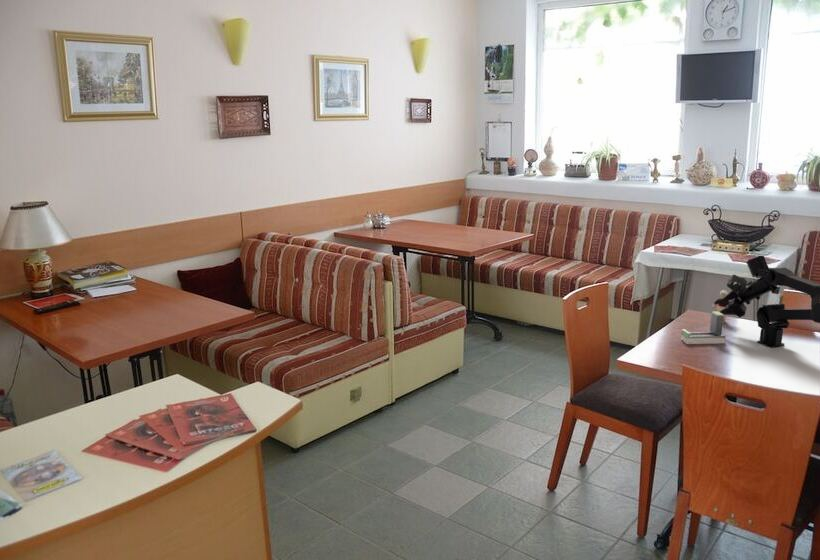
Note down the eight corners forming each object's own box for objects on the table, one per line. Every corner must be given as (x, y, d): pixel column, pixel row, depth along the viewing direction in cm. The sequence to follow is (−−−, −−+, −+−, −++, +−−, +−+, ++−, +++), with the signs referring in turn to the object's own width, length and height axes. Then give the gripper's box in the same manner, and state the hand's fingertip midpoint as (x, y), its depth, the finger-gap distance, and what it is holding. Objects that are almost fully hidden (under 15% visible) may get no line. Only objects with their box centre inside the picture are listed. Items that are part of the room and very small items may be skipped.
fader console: (718, 338, 255) (719, 328, 254) (724, 343, 250) (725, 332, 250) (680, 339, 255) (681, 329, 254) (686, 343, 250) (687, 333, 249)
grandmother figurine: (710, 321, 276) (714, 290, 273) (710, 318, 280) (713, 288, 277) (731, 323, 274) (735, 292, 271) (731, 320, 277) (735, 290, 274)
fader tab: (716, 333, 254) (719, 311, 252) (722, 336, 250) (724, 314, 248) (708, 333, 254) (711, 311, 252) (714, 336, 250) (716, 314, 248)
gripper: (747, 259, 258) (711, 278, 269) (739, 286, 245) (702, 305, 256) (766, 280, 259) (730, 298, 270) (760, 308, 246) (722, 326, 257)
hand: (721, 306), depth 263 cm, fingers open, 9 cm apart
